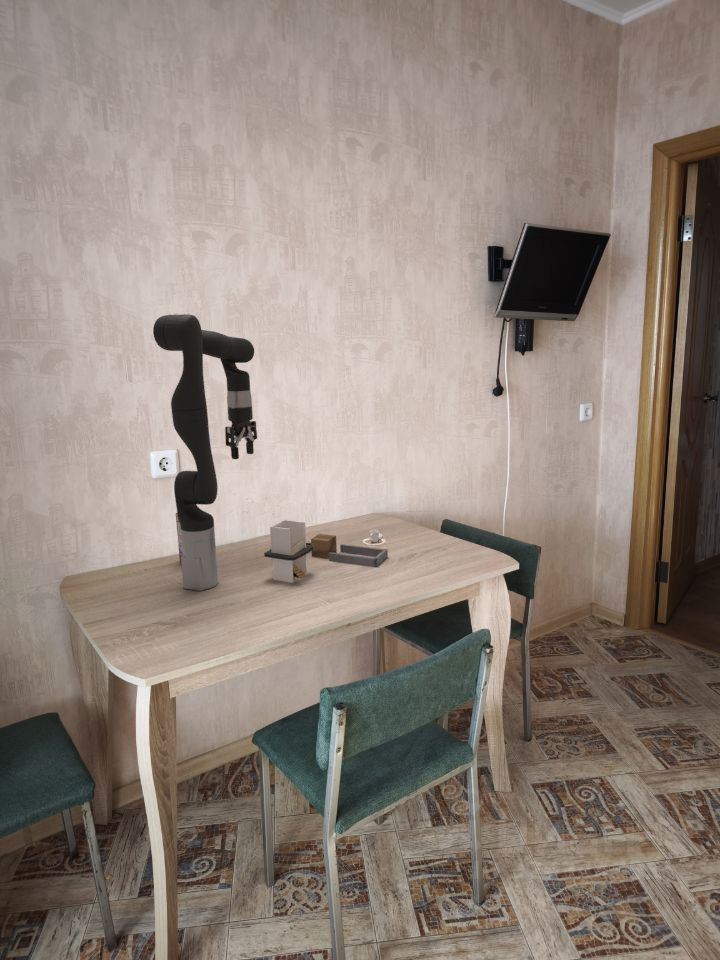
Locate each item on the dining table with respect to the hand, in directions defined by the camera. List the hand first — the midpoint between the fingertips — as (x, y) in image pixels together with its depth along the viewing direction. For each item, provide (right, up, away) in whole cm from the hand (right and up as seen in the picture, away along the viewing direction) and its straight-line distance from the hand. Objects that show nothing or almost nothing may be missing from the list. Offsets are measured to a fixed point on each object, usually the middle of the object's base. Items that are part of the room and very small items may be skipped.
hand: (242, 456), depth 208 cm
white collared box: (+16, -36, -14) cm, 42 cm away
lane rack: (+36, -32, 0) cm, 49 cm away
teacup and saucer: (+45, -29, +17) cm, 56 cm away
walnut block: (+19, -31, +7) cm, 37 cm away
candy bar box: (-14, -34, -1) cm, 37 cm away
